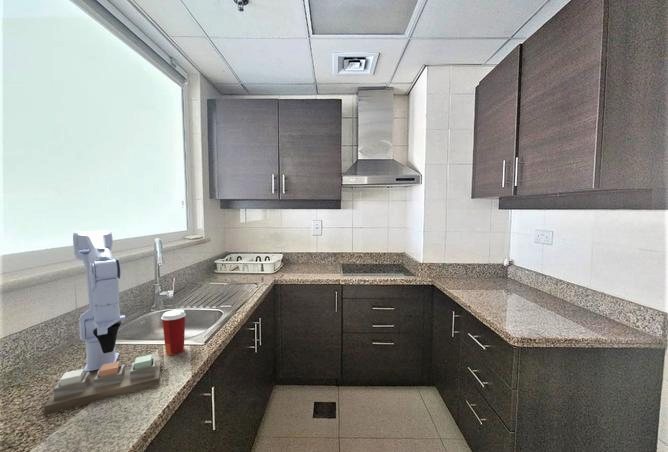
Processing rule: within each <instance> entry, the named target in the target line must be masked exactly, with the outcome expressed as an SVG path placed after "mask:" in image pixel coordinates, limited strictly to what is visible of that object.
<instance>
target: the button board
mask: <svg viewBox="0 0 668 452" xmlns="http://www.w3.org/2000/svg"><path fill="white" fill-rule="evenodd" d="M161 363H162V362H161V359H159V360H157V357H152V366H149V367H145V368H141V369H136V370H135V365H134V364H135V361H133V362H132V363H131V366H126V367H125V363H123V364H120V370H119V373H118V374H114V375H109V376H105V377H100V378H99V370H100V369H98V371H97V372H96V373H94V374H91V371H89V372H84V376H85V377H84V379H83V380H82V382H78V383H74V384H69V385H65V386H60V380H59V381H58V382H57V384H56V385H55V387H54V388H53V393H52V394H51V396H50V397H49V399H48V400H47V401H46V403H45V405H44V407H43V408H44V414H45V415H46V414H51V413H54V412H55V413H56V412H59V411H63V410H68V409H70V408H74V407H78V406H82V405H86V404H90V403H94V402H97V401H98V402H99V401H102V400H105V399H106V400H107V399H110V398H114V397H117V395H118V396H122V395H125V394H130V393H133V392H139V391H142V390H144V389H149V388H155V387H157V386H160V379H161V365H162V364H161Z"/></svg>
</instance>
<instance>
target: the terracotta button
mask: <svg viewBox="0 0 668 452" xmlns="http://www.w3.org/2000/svg"><path fill="white" fill-rule="evenodd" d="M120 365H121V364H120V360H119V361H118V360H117V361H116V362H113V363H108V364H103V365H102V366H101V368H100V370H99V369H98V370H99V378H100V377H105V376H109V375H114V374H118V373H119V370H120Z"/></svg>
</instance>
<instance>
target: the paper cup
mask: <svg viewBox="0 0 668 452" xmlns="http://www.w3.org/2000/svg"><path fill="white" fill-rule="evenodd" d="M186 316H187V314H186V312H185V310H184V309H173V310H168V311H165V312H163V313H162V316H161V318H160V319H161V320H162V331H163V339H164V340H163V341H164V349H165V354H166V355H167V356H174V355H179V354H180V353H181V354H182V353H183V352H184V351H185V350H184V349H185V330H186V329H185V327H186Z"/></svg>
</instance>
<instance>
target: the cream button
mask: <svg viewBox="0 0 668 452" xmlns="http://www.w3.org/2000/svg"><path fill="white" fill-rule="evenodd" d="M84 373H85V372H84V368H80V369H76V370H70V371H65V372H64V373H63V375H62V376H61V378H60V379H59V381H60V386H65V385H69V384H74V383H78V382H82V380H83V379H84V377H85V376H84Z"/></svg>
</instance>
